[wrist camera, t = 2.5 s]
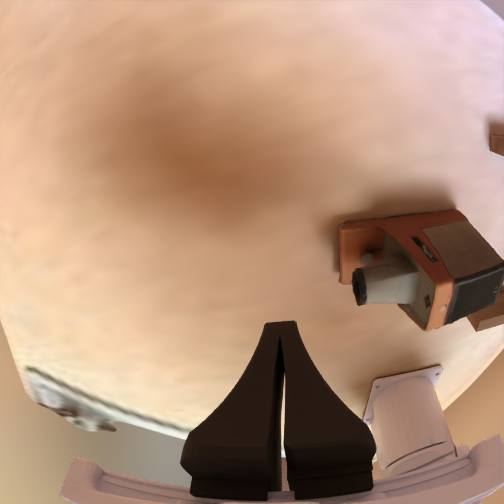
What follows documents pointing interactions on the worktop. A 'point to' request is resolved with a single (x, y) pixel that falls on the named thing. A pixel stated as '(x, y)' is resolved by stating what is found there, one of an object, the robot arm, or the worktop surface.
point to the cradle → (500, 310)
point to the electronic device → (421, 265)
